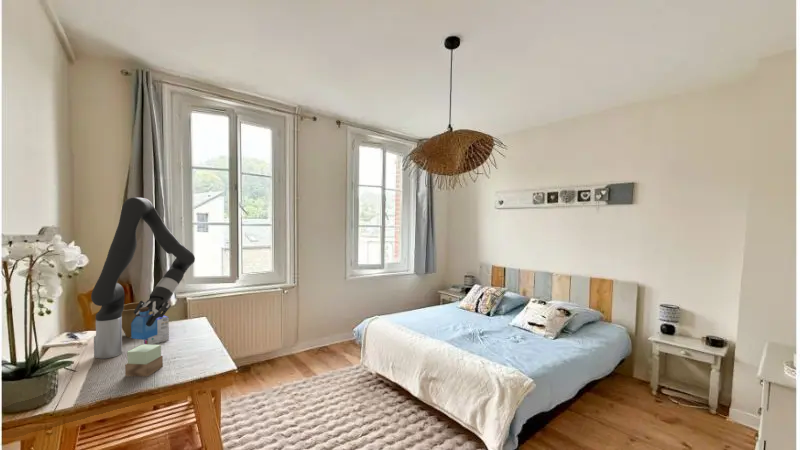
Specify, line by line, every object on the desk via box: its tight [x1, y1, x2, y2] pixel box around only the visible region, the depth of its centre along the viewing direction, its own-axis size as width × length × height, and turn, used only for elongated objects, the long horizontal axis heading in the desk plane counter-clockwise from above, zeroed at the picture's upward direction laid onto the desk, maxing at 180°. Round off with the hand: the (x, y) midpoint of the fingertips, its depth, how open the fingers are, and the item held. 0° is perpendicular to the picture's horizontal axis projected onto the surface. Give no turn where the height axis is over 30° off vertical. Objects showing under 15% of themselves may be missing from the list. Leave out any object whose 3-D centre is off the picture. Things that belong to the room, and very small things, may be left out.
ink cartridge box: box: [143, 313, 170, 345], centre depth 177 cm, size 10×6×14 cm, turn 148°
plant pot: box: [122, 302, 151, 338], centre depth 186 cm, size 15×15×16 cm
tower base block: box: [124, 355, 164, 377], centre depth 145 cm, size 9×9×5 cm
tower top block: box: [126, 343, 162, 364], centre depth 145 cm, size 8×8×5 cm
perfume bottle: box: [130, 307, 158, 341], centre depth 144 cm, size 6×6×12 cm
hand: (140, 324), depth 143 cm, fingers closed on perfume bottle, 6 cm apart
